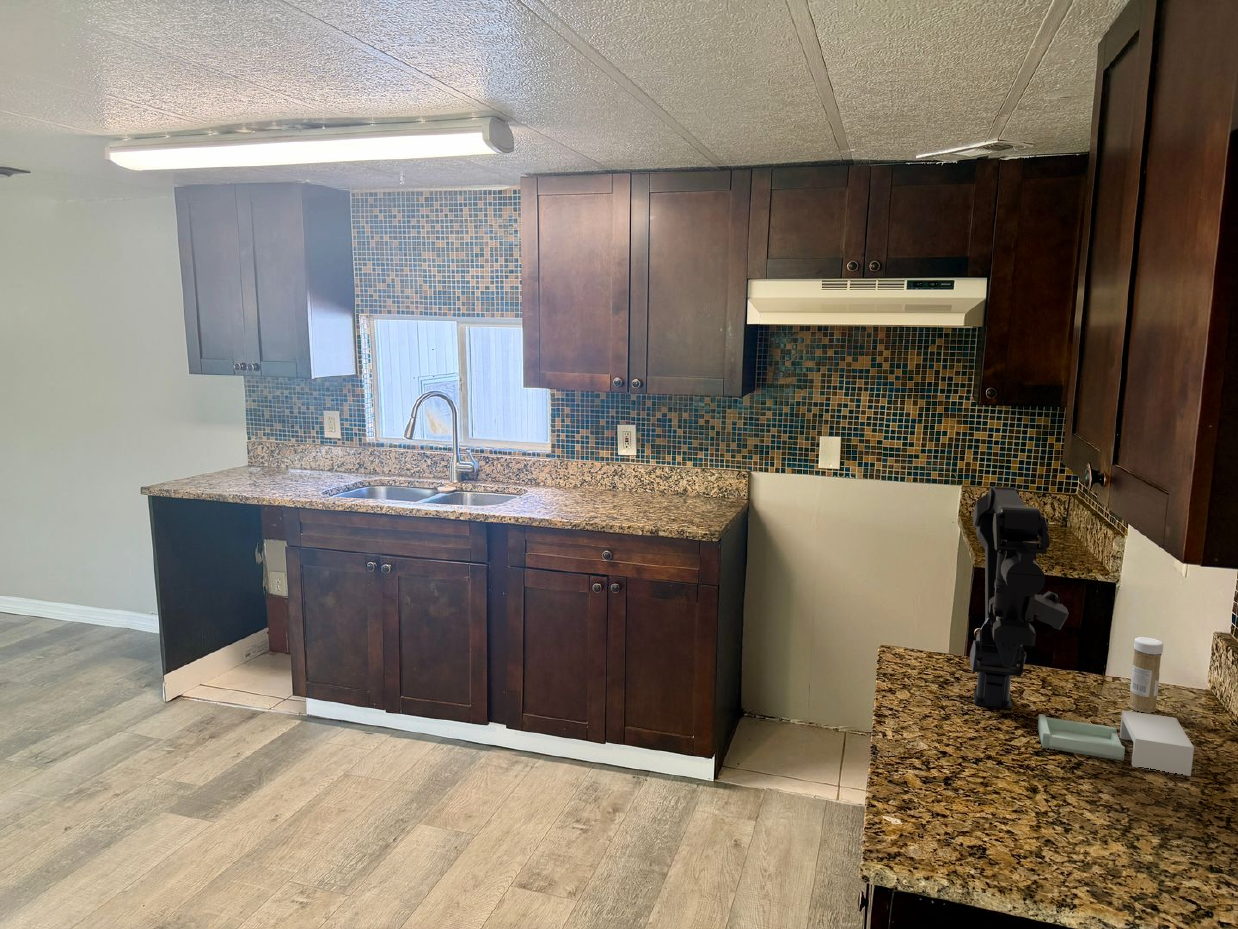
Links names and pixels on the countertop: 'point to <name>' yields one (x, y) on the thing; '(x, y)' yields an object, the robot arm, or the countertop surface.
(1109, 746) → the tray shell
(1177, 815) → the countertop surface
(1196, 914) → the countertop surface
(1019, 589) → the robot arm
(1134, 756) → the low shelf
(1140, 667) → the sprinkles bottle
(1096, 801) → the countertop surface
